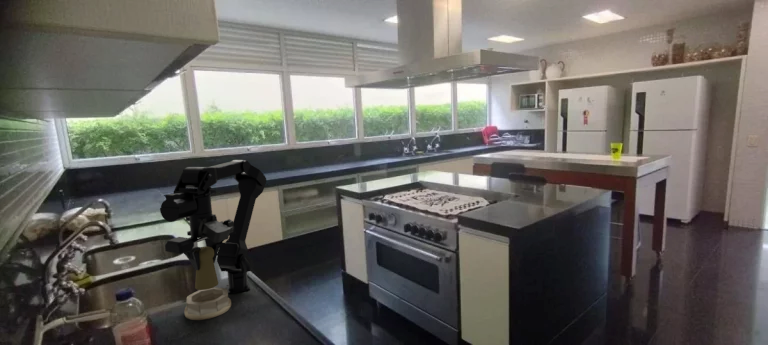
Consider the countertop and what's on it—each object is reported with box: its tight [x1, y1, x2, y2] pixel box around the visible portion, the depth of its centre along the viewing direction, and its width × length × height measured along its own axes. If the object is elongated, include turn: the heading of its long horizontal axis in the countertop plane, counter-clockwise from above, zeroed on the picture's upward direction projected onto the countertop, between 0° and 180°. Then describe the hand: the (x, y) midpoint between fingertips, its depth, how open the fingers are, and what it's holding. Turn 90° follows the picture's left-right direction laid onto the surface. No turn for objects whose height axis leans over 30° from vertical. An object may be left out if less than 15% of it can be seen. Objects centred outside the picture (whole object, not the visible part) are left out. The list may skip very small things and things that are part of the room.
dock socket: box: [183, 286, 232, 321], centre depth 103 cm, size 12×12×4 cm
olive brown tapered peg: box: [194, 245, 219, 291], centre depth 102 cm, size 6×6×11 cm
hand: (205, 266), depth 102 cm, fingers closed on olive brown tapered peg, 5 cm apart
